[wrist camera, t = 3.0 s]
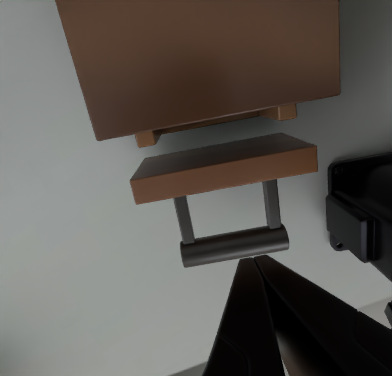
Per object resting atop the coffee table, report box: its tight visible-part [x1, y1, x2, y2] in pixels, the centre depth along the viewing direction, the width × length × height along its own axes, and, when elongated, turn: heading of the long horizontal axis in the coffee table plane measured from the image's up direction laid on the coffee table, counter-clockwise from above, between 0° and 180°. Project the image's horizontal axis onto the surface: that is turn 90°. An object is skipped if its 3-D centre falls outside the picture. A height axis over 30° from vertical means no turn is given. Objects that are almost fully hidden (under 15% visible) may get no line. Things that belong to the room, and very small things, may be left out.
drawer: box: [130, 104, 318, 268], centre depth 14 cm, size 14×8×5 cm, turn 10°
